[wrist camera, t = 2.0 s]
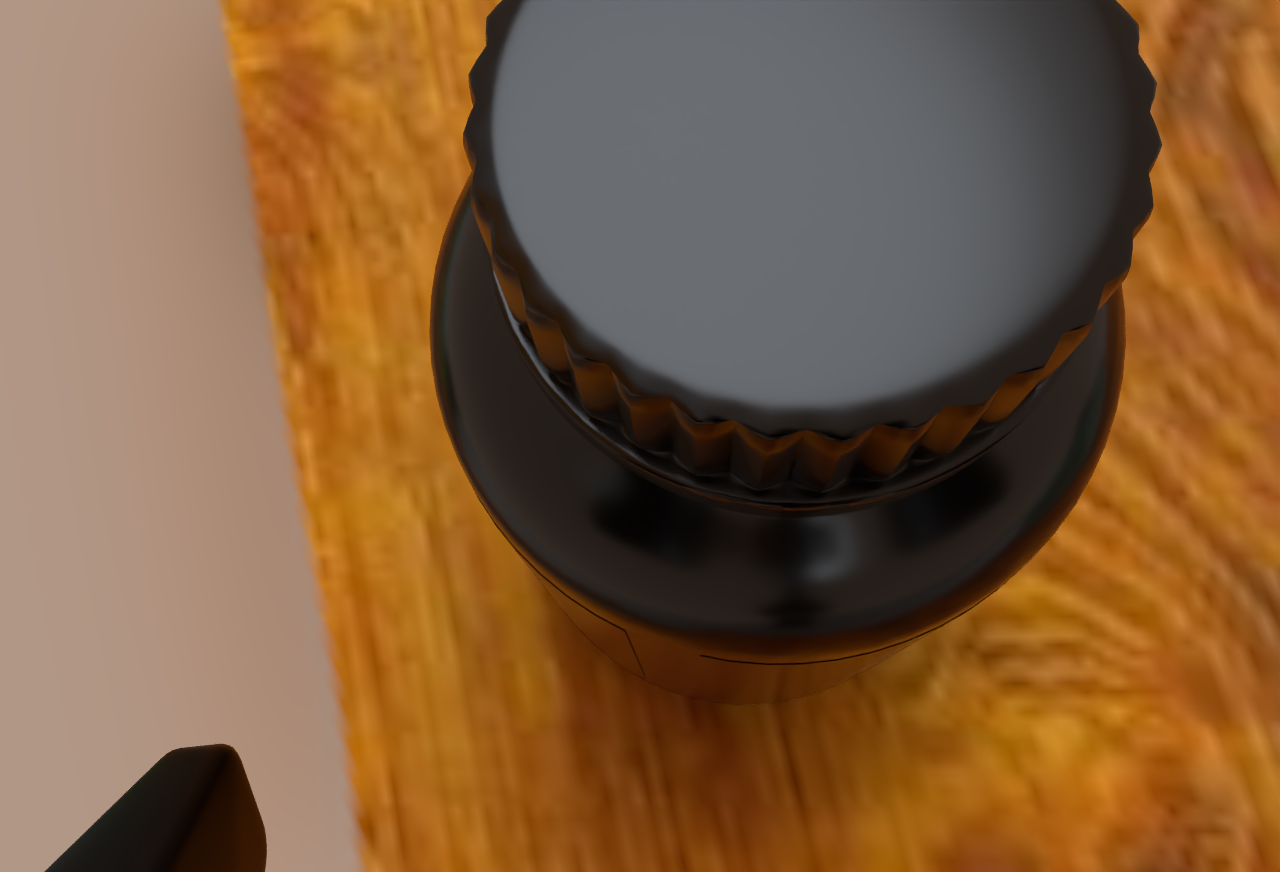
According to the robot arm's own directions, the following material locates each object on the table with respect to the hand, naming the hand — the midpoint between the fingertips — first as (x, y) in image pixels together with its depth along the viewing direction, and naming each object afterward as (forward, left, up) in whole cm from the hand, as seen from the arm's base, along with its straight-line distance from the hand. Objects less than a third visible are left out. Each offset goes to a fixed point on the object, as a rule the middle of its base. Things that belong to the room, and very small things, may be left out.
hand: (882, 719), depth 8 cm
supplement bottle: (+4, -1, -11) cm, 11 cm away
